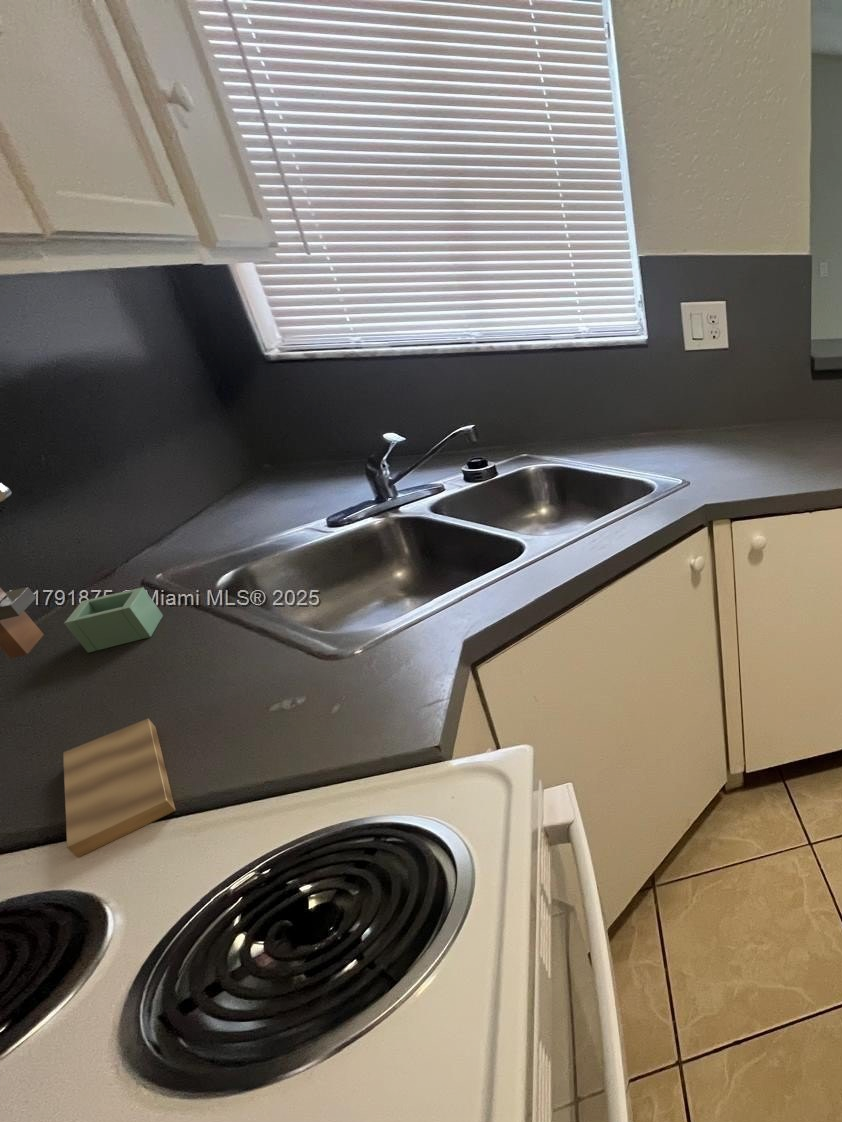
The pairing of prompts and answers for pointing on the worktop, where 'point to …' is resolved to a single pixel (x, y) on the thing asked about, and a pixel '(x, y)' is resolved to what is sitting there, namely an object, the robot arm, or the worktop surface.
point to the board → (114, 787)
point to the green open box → (114, 619)
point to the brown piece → (17, 623)
